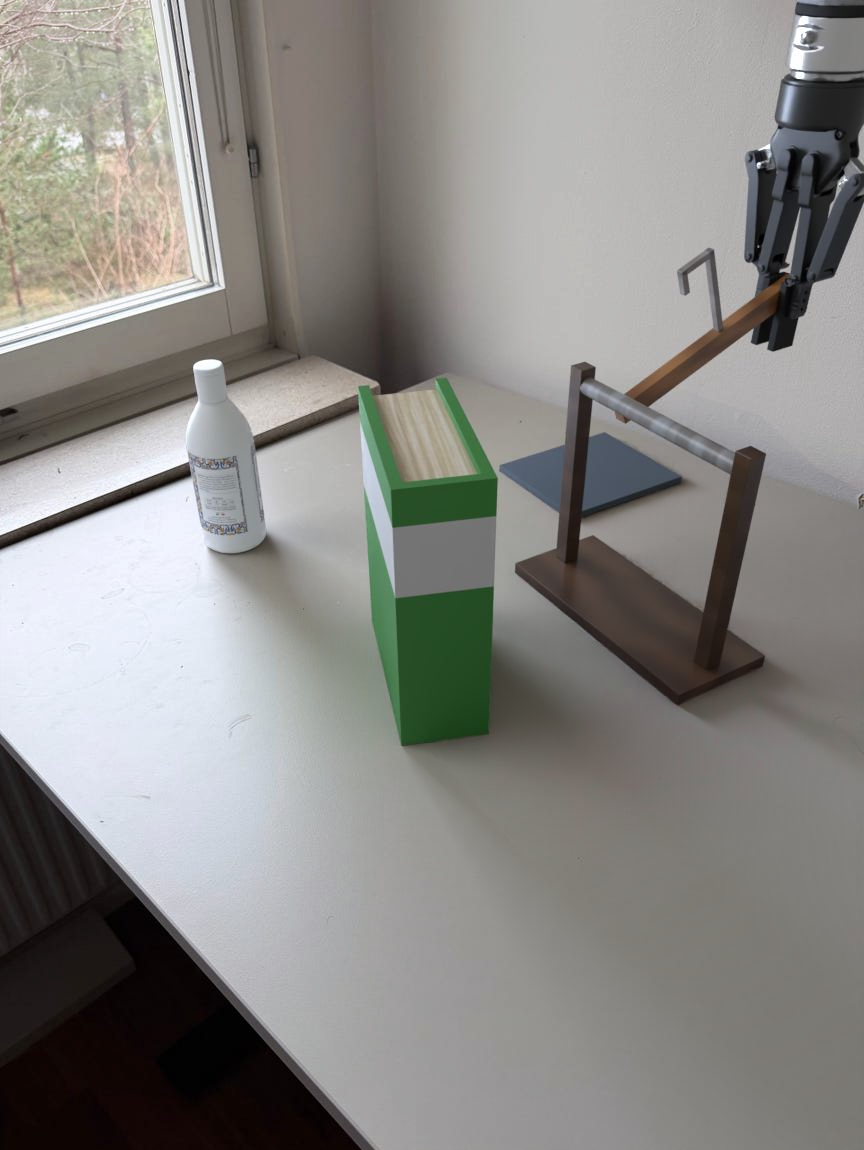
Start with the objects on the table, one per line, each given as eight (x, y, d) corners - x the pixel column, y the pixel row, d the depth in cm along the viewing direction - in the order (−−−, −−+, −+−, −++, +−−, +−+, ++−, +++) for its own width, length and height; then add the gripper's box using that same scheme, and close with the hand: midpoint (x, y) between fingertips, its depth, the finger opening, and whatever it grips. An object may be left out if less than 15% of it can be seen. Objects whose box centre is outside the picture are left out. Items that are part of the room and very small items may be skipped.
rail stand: (592, 544, 103) (613, 347, 90) (762, 666, 86) (819, 445, 73) (514, 572, 100) (524, 371, 86) (676, 705, 83) (720, 480, 69)
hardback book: (371, 620, 94) (357, 386, 79) (446, 611, 95) (446, 377, 80) (401, 745, 80) (390, 489, 66) (488, 733, 81) (497, 478, 66)
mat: (604, 437, 123) (604, 431, 122) (681, 482, 113) (682, 476, 112) (498, 470, 117) (499, 464, 116) (570, 521, 107) (571, 515, 107)
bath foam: (236, 515, 111) (209, 346, 99) (279, 534, 107) (257, 360, 95) (191, 542, 107) (157, 368, 95) (234, 562, 103) (206, 384, 91)
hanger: (787, 291, 95) (781, 191, 87) (798, 295, 94) (793, 194, 86) (615, 419, 92) (594, 326, 84) (625, 424, 91) (605, 331, 83)
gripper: (733, 68, 86) (691, 330, 100) (872, 88, 76) (803, 376, 90) (792, 59, 88) (743, 315, 103) (934, 77, 78) (857, 358, 93)
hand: (771, 343), depth 97 cm, fingers closed on hanger
